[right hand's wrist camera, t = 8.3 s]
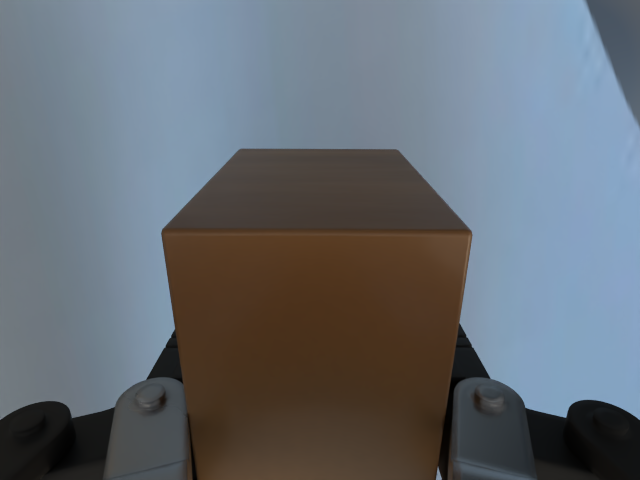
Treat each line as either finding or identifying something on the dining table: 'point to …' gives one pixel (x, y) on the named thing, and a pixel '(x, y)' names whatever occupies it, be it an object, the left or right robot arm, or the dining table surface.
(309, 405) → the post
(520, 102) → the dining table surface
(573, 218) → the dining table surface
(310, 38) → the dining table surface
